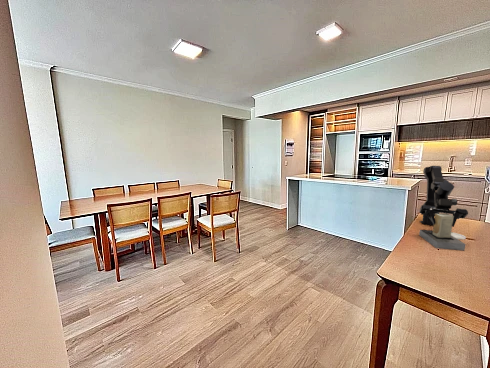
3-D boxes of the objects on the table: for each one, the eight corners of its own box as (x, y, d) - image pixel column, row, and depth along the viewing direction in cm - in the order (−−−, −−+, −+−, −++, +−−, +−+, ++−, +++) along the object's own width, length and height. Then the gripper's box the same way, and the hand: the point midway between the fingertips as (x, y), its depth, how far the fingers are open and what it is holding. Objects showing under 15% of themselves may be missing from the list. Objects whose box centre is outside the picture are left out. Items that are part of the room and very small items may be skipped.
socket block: (419, 235, 123) (419, 229, 123) (443, 237, 121) (444, 231, 120) (435, 248, 108) (436, 241, 108) (464, 250, 105) (465, 244, 105)
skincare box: (444, 234, 116) (447, 213, 113) (450, 237, 111) (454, 216, 109) (431, 234, 116) (434, 213, 114) (437, 237, 112) (441, 215, 110)
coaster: (440, 232, 127) (440, 231, 127) (458, 233, 125) (458, 232, 125) (450, 238, 118) (450, 237, 118) (470, 240, 116) (470, 239, 116)
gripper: (423, 190, 117) (424, 215, 110) (470, 194, 108) (474, 221, 101) (419, 201, 126) (419, 224, 118) (462, 205, 116) (465, 231, 109)
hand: (443, 225), depth 111 cm, fingers closed on skincare box, 7 cm apart
